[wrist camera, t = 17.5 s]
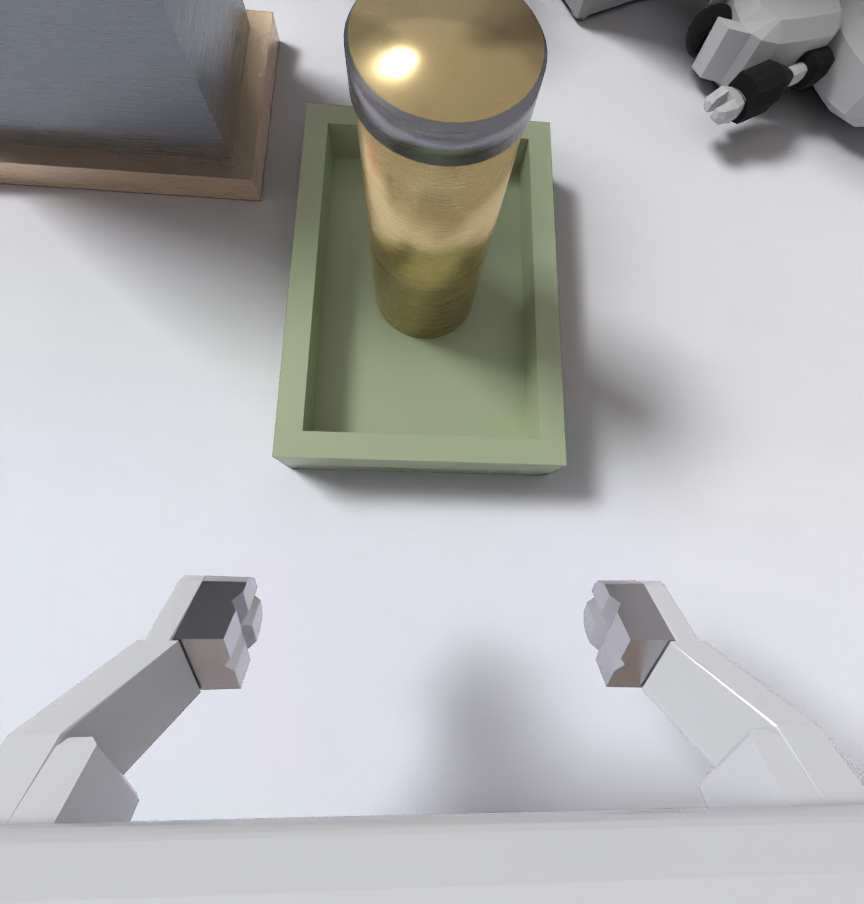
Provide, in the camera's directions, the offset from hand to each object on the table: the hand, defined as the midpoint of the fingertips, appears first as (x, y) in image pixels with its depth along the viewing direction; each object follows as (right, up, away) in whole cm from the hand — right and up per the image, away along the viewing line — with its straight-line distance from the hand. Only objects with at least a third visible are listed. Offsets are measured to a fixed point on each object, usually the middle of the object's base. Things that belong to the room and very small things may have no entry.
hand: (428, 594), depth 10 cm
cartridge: (0, +11, +9) cm, 14 cm away
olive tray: (0, +10, +10) cm, 14 cm away
